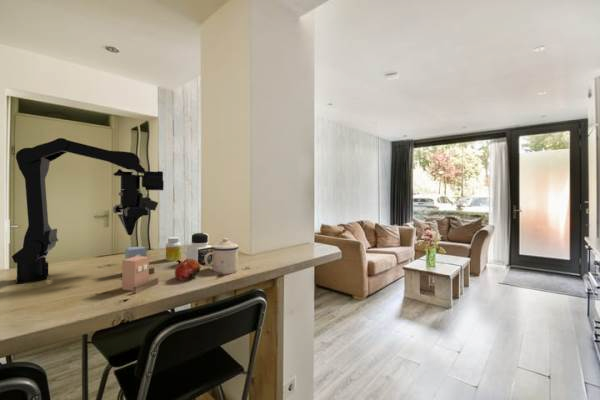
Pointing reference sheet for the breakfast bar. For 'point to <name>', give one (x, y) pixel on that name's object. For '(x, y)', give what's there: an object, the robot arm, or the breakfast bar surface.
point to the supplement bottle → (173, 249)
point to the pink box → (134, 272)
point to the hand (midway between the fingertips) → (129, 235)
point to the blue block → (135, 252)
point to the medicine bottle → (199, 249)
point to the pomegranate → (187, 269)
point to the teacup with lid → (223, 257)
